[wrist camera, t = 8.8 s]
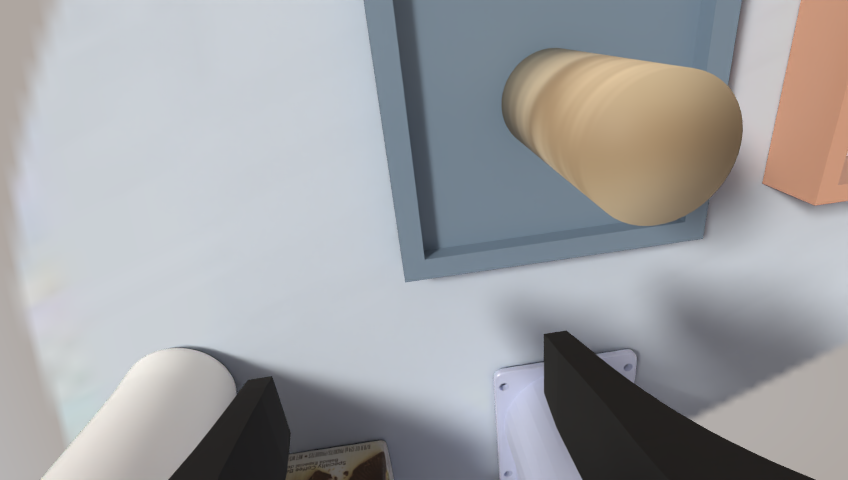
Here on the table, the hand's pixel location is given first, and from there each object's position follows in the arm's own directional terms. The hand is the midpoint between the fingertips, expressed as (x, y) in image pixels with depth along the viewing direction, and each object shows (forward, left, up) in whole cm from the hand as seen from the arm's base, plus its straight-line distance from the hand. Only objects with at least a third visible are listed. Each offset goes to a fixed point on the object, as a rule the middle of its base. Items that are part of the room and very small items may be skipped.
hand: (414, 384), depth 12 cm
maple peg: (+5, -7, -10) cm, 13 cm away
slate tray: (+5, -7, -10) cm, 14 cm away
